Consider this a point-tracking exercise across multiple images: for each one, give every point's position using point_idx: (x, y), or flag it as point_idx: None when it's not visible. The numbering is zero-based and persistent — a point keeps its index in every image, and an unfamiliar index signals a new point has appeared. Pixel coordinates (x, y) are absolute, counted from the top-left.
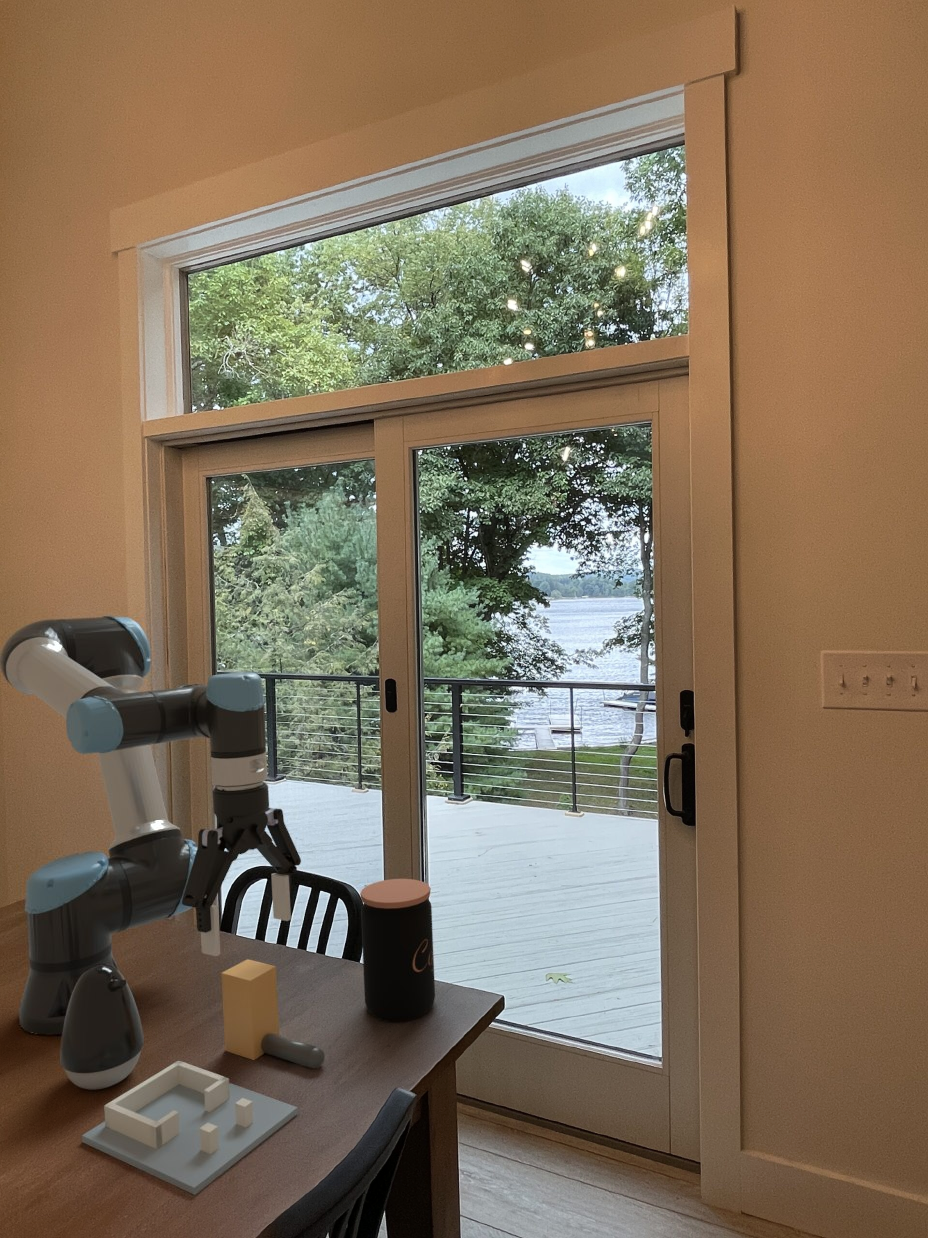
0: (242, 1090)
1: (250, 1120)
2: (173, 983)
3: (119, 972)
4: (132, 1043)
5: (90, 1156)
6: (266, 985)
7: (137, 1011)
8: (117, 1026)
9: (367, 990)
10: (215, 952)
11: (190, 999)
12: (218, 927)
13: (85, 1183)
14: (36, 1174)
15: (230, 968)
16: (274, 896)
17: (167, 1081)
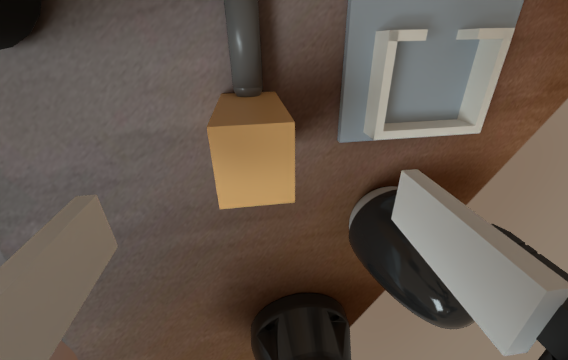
0: (355, 28)
1: None
2: (202, 311)
3: (433, 296)
4: None
5: (491, 102)
6: (243, 116)
7: (388, 235)
8: None
9: (9, 1)
10: (423, 176)
11: (214, 272)
12: (460, 218)
13: (531, 65)
14: (521, 124)
15: (271, 203)
16: (72, 306)
17: (394, 126)
